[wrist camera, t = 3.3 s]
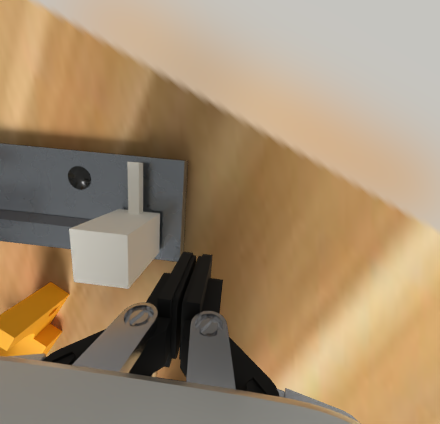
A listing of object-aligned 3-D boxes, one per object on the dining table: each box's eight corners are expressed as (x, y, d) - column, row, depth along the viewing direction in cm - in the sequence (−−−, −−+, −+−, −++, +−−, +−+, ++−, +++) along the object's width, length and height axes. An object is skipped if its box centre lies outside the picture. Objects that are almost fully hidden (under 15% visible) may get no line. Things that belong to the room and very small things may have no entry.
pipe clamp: (42, 360, 27) (-14, 418, 21) (14, 342, 27) (-52, 397, 21) (83, 301, 25) (31, 348, 18) (52, 281, 24) (-12, 322, 18)
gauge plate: (183, 255, 22) (158, 300, 15) (-41, 229, 23) (-165, 259, 16) (188, 161, 20) (161, 159, 12) (-62, 137, 21) (-219, 124, 14)
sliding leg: (159, 252, 20) (128, 288, 14) (119, 247, 20) (73, 281, 14) (161, 164, 18) (126, 165, 12) (117, 160, 18) (62, 159, 12)
